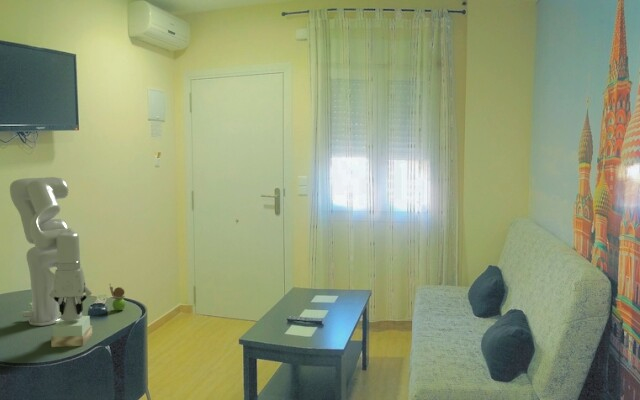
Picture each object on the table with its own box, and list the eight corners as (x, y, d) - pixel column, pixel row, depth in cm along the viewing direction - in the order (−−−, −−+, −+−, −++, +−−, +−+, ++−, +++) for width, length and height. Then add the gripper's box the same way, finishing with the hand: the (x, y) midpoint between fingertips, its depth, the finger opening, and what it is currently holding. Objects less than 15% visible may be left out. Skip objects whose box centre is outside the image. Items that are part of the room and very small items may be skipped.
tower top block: (53, 337, 190) (52, 326, 189) (62, 327, 200) (61, 317, 199) (82, 335, 191) (81, 325, 191) (90, 325, 201) (89, 315, 201)
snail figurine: (112, 308, 231) (111, 282, 230) (127, 308, 232) (126, 281, 230) (108, 312, 226) (107, 285, 224) (123, 312, 226) (122, 285, 225)
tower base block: (51, 348, 190) (51, 337, 190) (62, 336, 201) (61, 326, 200) (83, 346, 192) (82, 336, 191) (92, 335, 202) (91, 325, 202)
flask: (86, 316, 197) (85, 290, 195) (71, 322, 190) (70, 296, 189) (71, 313, 199) (70, 288, 198) (56, 319, 192) (54, 293, 191)
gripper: (40, 269, 187) (43, 317, 190) (90, 268, 189) (92, 316, 192) (48, 263, 194) (51, 310, 197) (96, 262, 197) (98, 309, 199)
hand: (71, 312), depth 194 cm, fingers closed on flask, 4 cm apart
